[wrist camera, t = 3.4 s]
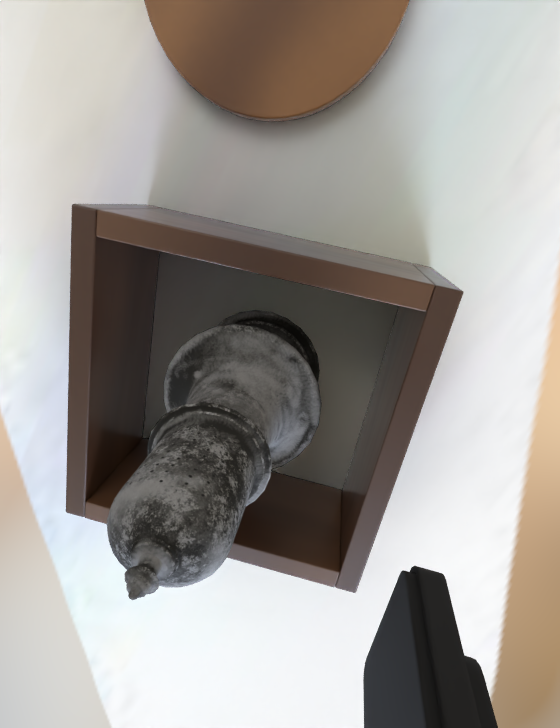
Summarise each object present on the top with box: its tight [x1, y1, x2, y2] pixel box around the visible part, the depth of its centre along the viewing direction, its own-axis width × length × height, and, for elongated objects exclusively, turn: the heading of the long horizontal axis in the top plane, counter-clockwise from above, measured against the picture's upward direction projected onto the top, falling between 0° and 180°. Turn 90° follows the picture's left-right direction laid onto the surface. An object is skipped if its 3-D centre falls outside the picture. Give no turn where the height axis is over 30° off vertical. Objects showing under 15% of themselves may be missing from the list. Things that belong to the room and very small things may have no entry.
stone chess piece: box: [107, 310, 321, 600], centre depth 14 cm, size 6×6×12 cm
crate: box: [66, 204, 463, 593], centre depth 17 cm, size 12×12×5 cm
